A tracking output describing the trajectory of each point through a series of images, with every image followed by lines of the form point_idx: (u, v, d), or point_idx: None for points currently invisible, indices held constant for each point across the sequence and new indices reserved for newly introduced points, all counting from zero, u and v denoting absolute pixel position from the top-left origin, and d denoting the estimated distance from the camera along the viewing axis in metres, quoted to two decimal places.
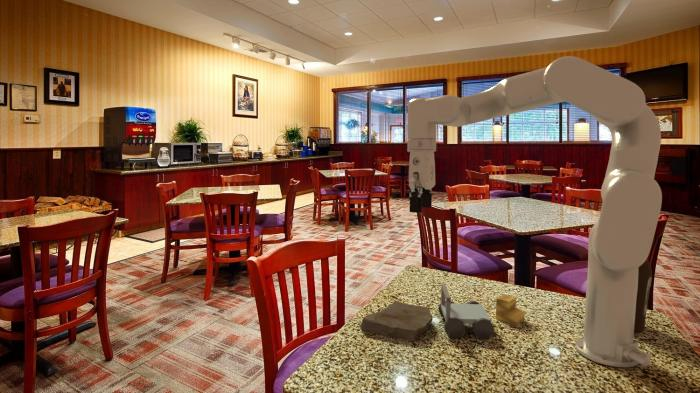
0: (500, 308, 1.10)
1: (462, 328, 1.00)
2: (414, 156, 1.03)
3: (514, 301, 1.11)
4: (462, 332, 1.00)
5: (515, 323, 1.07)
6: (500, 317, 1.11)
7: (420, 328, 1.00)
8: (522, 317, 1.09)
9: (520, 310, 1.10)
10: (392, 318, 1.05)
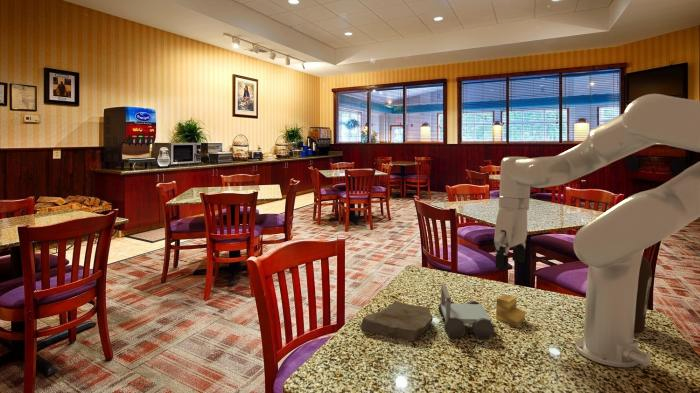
0: (500, 308, 1.10)
1: (462, 328, 1.00)
2: None
3: (515, 301, 1.11)
4: (462, 332, 1.00)
5: (516, 323, 1.07)
6: (500, 317, 1.11)
7: (420, 328, 1.00)
8: (522, 317, 1.09)
9: (520, 310, 1.10)
10: (392, 318, 1.05)
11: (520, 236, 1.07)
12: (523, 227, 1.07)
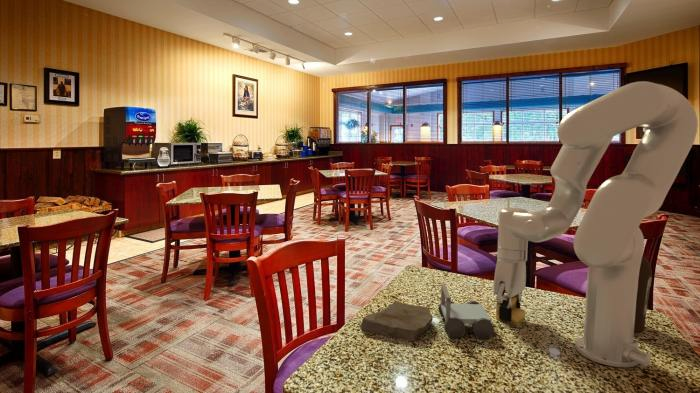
0: None
1: (462, 328, 1.00)
2: None
3: (515, 300, 1.11)
4: (462, 332, 1.00)
5: (516, 323, 1.07)
6: None
7: (420, 328, 1.00)
8: (522, 317, 1.09)
9: (520, 310, 1.10)
10: (392, 318, 1.05)
11: (519, 286, 1.08)
12: (522, 277, 1.09)
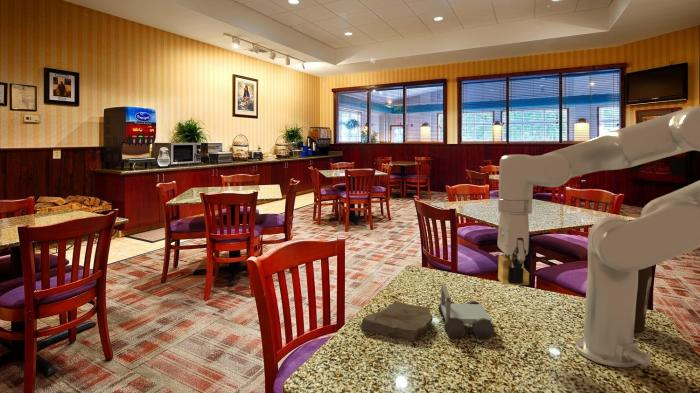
0: (508, 270, 0.96)
1: (462, 328, 1.00)
2: None
3: None
4: (462, 332, 1.00)
5: (527, 282, 0.96)
6: None
7: (420, 328, 1.00)
8: None
9: None
10: (392, 318, 1.05)
11: None
12: None
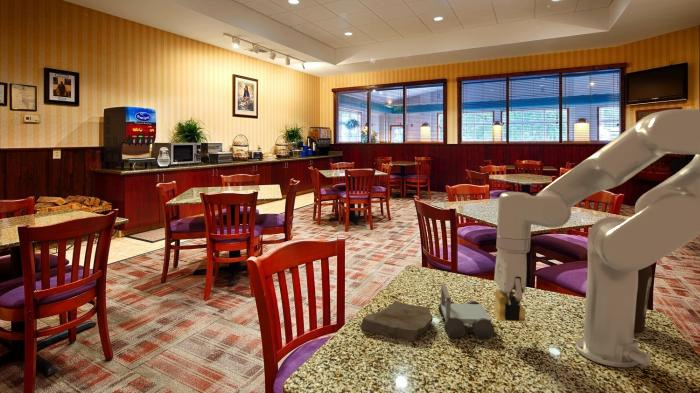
0: None
1: (462, 328, 1.00)
2: None
3: None
4: (462, 332, 1.00)
5: (523, 319, 0.97)
6: None
7: (420, 328, 1.00)
8: None
9: None
10: (392, 318, 1.05)
11: None
12: None
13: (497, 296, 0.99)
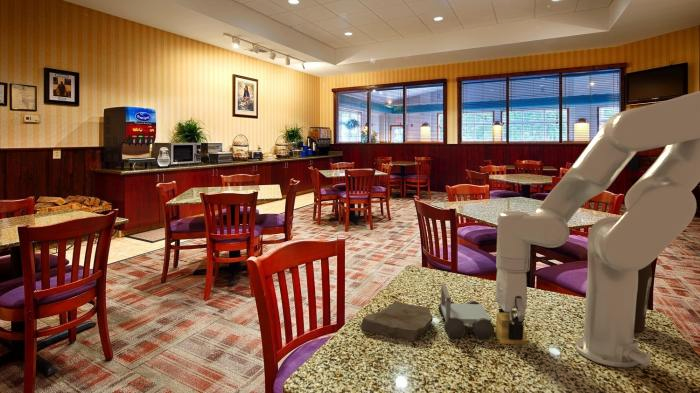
0: (506, 330, 0.97)
1: (462, 328, 1.00)
2: None
3: None
4: (462, 332, 1.00)
5: (525, 342, 0.97)
6: (506, 340, 0.98)
7: (420, 328, 1.00)
8: None
9: None
10: (392, 318, 1.05)
11: None
12: None
13: (498, 319, 0.99)
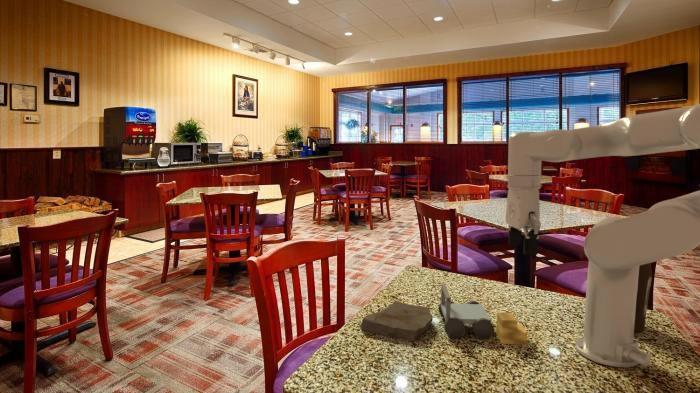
0: (507, 330, 0.97)
1: (462, 328, 1.00)
2: None
3: None
4: (462, 332, 1.00)
5: (525, 342, 0.97)
6: (507, 340, 0.98)
7: (420, 328, 1.00)
8: None
9: (519, 326, 1.00)
10: (392, 318, 1.05)
11: None
12: None
13: (499, 319, 0.99)
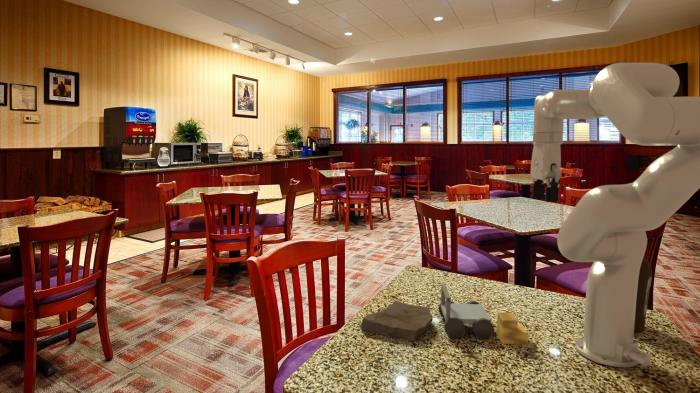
0: (507, 330, 0.97)
1: (462, 328, 1.00)
2: None
3: None
4: (462, 332, 1.00)
5: (526, 342, 0.97)
6: (507, 340, 0.97)
7: (420, 328, 1.00)
8: None
9: (519, 326, 1.00)
10: (392, 318, 1.05)
11: None
12: None
13: (499, 319, 0.99)
